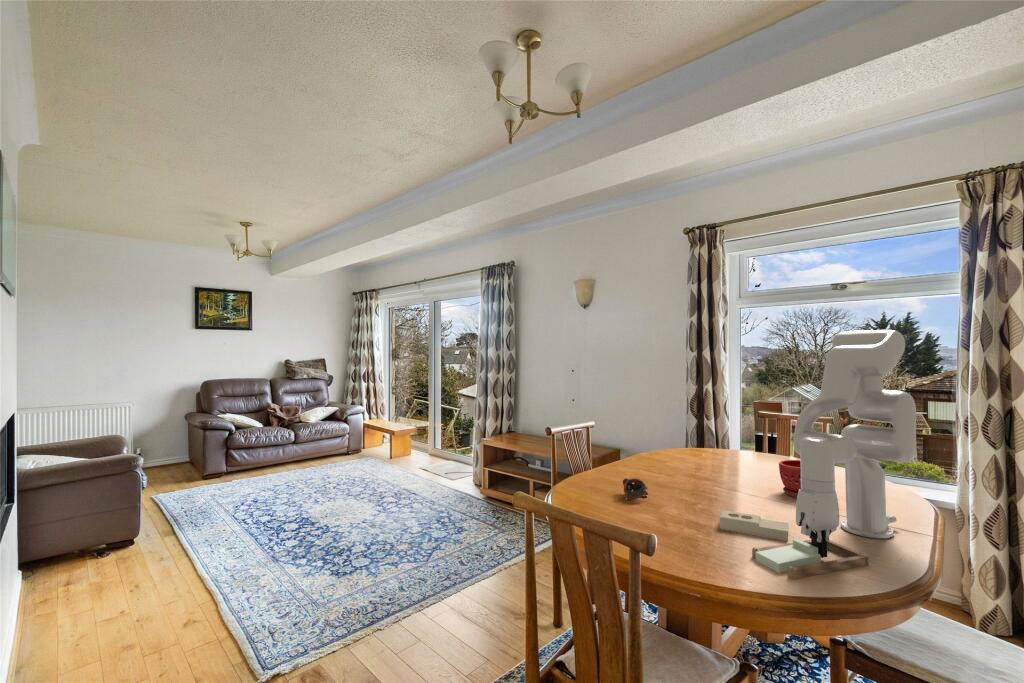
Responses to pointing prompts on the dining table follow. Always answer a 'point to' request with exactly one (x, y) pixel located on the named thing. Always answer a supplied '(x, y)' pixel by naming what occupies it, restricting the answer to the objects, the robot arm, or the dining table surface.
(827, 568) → the brown u-shaped frame
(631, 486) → the dark turtle figurine
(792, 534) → the dining table surface
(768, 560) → the cover plate
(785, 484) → the plant pot
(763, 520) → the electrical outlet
